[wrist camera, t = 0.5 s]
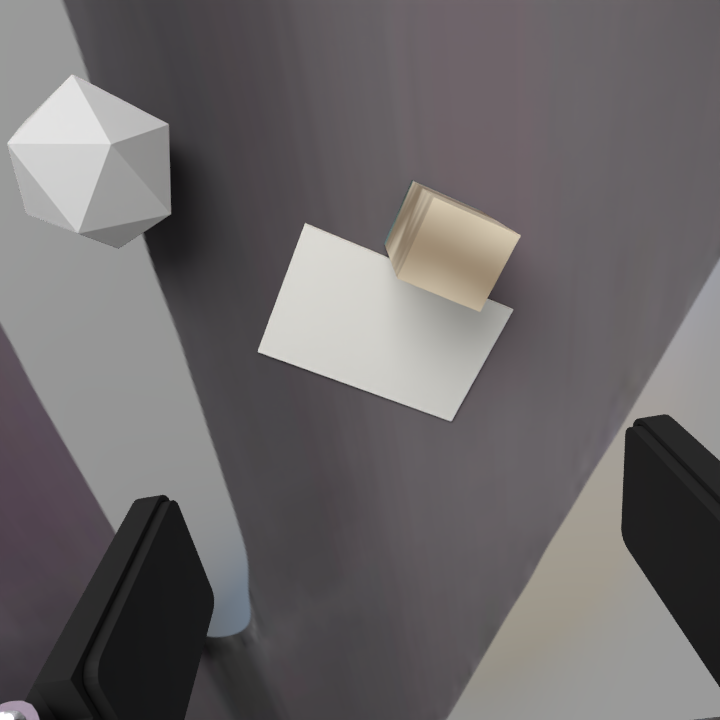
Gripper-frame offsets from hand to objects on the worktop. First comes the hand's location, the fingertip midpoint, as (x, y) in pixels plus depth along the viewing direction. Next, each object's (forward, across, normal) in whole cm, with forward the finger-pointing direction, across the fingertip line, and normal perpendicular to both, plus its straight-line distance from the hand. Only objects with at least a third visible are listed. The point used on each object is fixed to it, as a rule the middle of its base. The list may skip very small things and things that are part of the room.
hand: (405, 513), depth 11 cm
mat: (+28, 0, +7) cm, 28 cm away
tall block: (+28, -5, 0) cm, 28 cm away
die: (+28, +14, -7) cm, 32 cm away
